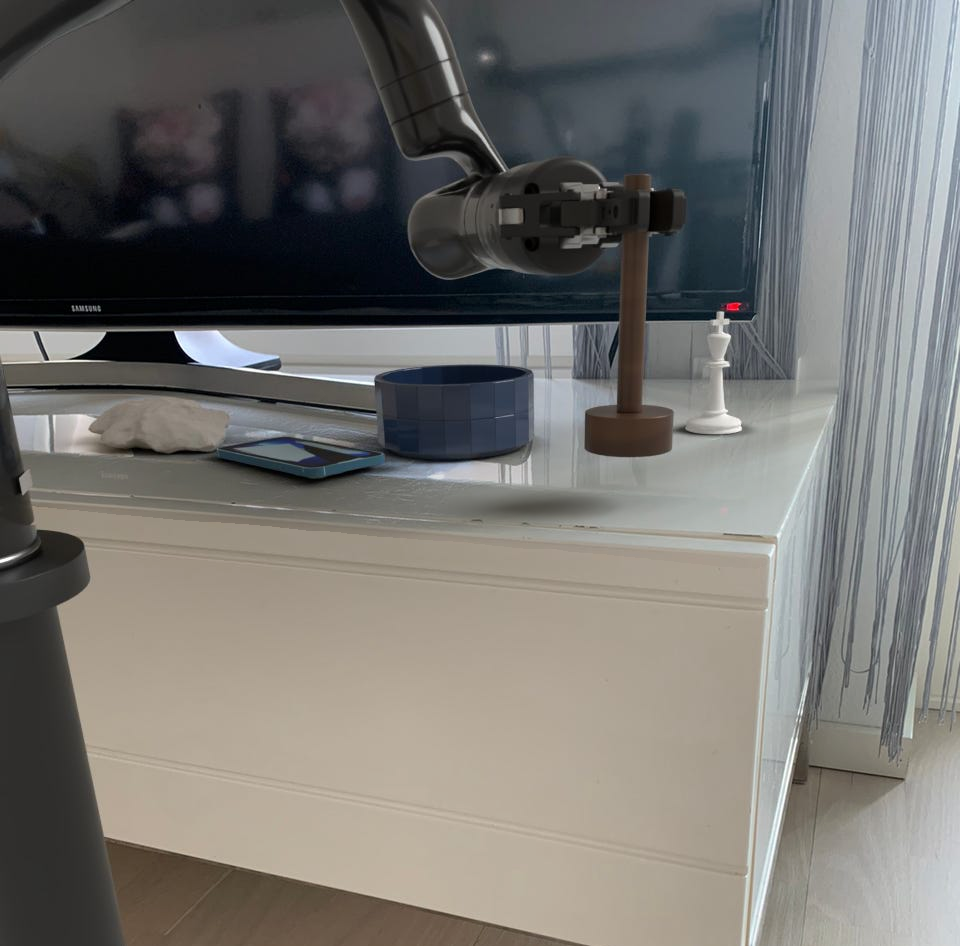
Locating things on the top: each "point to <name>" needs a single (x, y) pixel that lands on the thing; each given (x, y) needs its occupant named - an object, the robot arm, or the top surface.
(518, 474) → the top surface
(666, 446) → the wooden peg stand
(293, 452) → the smartphone
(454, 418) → the bowl
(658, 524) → the top surface
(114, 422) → the decorative stone
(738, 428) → the chess piece
